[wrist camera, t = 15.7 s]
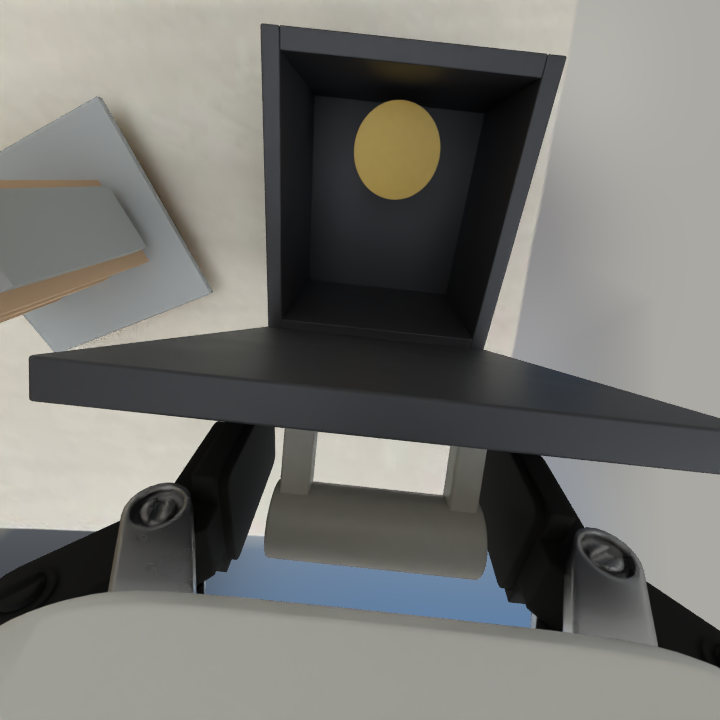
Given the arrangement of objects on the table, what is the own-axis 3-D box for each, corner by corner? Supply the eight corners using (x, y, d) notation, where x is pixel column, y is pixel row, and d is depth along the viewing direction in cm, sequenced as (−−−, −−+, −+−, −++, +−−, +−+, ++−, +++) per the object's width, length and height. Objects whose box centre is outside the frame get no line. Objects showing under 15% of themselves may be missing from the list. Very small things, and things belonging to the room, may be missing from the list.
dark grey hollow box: (304, 81, 23) (259, 22, 14) (496, 102, 23) (567, 55, 14) (301, 285, 29) (268, 330, 21) (451, 301, 29) (482, 353, 21)
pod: (435, 118, 23) (448, 104, 19) (422, 199, 25) (431, 203, 21) (361, 111, 23) (357, 94, 19) (355, 192, 25) (350, 195, 21)
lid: (26, 354, 6) (30, 614, 6) (781, 435, 6) (714, 686, 6) (266, 326, 20) (260, 408, 21) (485, 350, 20) (473, 430, 21)
